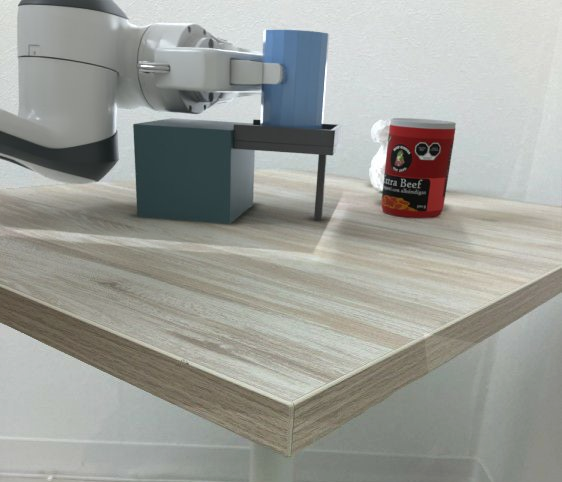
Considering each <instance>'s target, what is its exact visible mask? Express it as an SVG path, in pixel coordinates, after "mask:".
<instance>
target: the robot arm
mask: <svg viewBox="0 0 562 482" xmlns="http://www.w3.org/2000/svg"><path fill="white" fill-rule="evenodd" d="M17 7H18V9H17V14H16V15H17V17H16V19H17V20H16V36H17V37H16V47H17V48H16V50H17V53H16V55H17V62H18V63H17V65H18V69H17V70H18V72H17V73H18V76H17V77H18V112H17V114H14V113H12V112H9V111H7V110H5V109H2V108H0V160H3V161H6V162H8V163H12V164H15V165H17V166H20V167H23V168H25V169H27V170H28V171H29V170H30V171H32V172H35V173H37V174H38V175H39V176H43V177H44V178H47V179H49V180H52V181H56V182H59V183H64V184H70V185H86V184H87V185H88V184H91V183H98V182H100V181H101V180H102V179H103V178H104V177H105V176H106V175H108V173H109V172H111V170H112V169H113V168H114V167H115V166H116V165H117V163H118V162H119V160H120V156H119V135H118V130H117V116H118V114H117V112H118V109H121V110H133V109H137V108H141V107H143V108H144V107H145V108H148V109H150V110H152V111H155V112H161V113H174V114H186V115H187V114H188V115H200V114H202V113H204V112H205V111H206V110H207V109H210V108H212V107H214V106H216V105H219V104H224V103H226V104H227V102H229V103H230V102H232V101H233V100H234V99H235V98H243V97H252V96H253V97H254V96H261V89H262V84H284V83H285V81H286V75H285V74H286V66H285V65H283V64H277V63H262V59H263V51H259V50H252V49H247V48H243V47H239V46H235V45H234V42H232V41H228V40H227V39H223V38H220V37H218V36H215V35H214V34H212V33H211V32H209V31H207V30H206V29H205V28H204V27H203V26H202V25H200V24H199V23H180V22H178V23H176V22H174V23H173V22H154V23H150V24H148V25H142V26H141V25H140V26H138V25H135V24H133V23H130V22H129V17H128V15H127V14H126V13H125V11H123V9H122V8H121V7H120V6H119V5H118V4H117V3H116V1H114V0H20V1H19V3H18V4H17Z"/></svg>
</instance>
